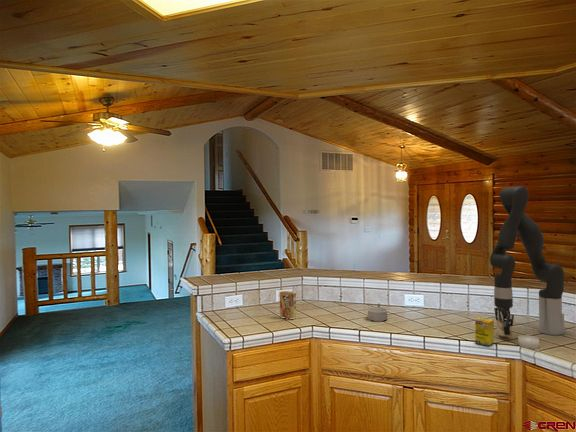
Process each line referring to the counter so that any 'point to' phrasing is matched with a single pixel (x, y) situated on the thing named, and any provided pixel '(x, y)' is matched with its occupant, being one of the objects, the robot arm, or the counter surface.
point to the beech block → (502, 328)
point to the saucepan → (377, 313)
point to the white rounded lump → (528, 341)
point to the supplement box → (484, 331)
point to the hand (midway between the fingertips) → (504, 332)
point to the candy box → (288, 304)
